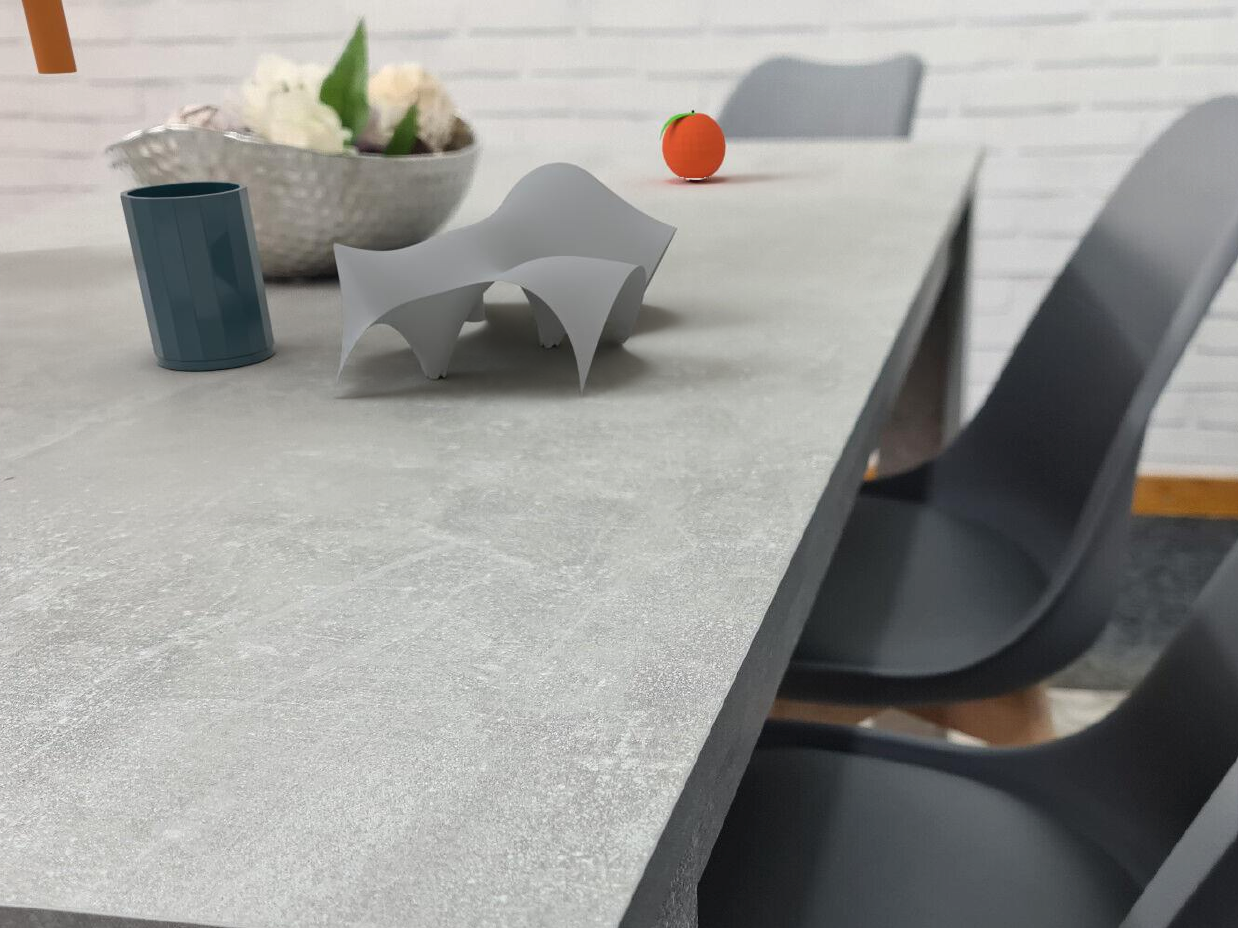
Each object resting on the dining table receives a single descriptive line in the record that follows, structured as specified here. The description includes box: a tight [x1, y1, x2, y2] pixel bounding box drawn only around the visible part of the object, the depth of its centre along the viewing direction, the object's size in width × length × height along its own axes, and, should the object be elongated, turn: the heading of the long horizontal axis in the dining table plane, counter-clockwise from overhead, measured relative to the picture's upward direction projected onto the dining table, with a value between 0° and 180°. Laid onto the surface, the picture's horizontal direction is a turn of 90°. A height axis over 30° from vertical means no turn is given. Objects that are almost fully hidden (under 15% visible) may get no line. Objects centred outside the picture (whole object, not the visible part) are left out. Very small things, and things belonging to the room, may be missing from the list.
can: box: [119, 180, 276, 372], centre depth 89 cm, size 7×7×10 cm
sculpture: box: [332, 161, 678, 396], centre depth 90 cm, size 25×19×10 cm
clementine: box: [659, 109, 727, 178], centre depth 155 cm, size 8×7×7 cm
